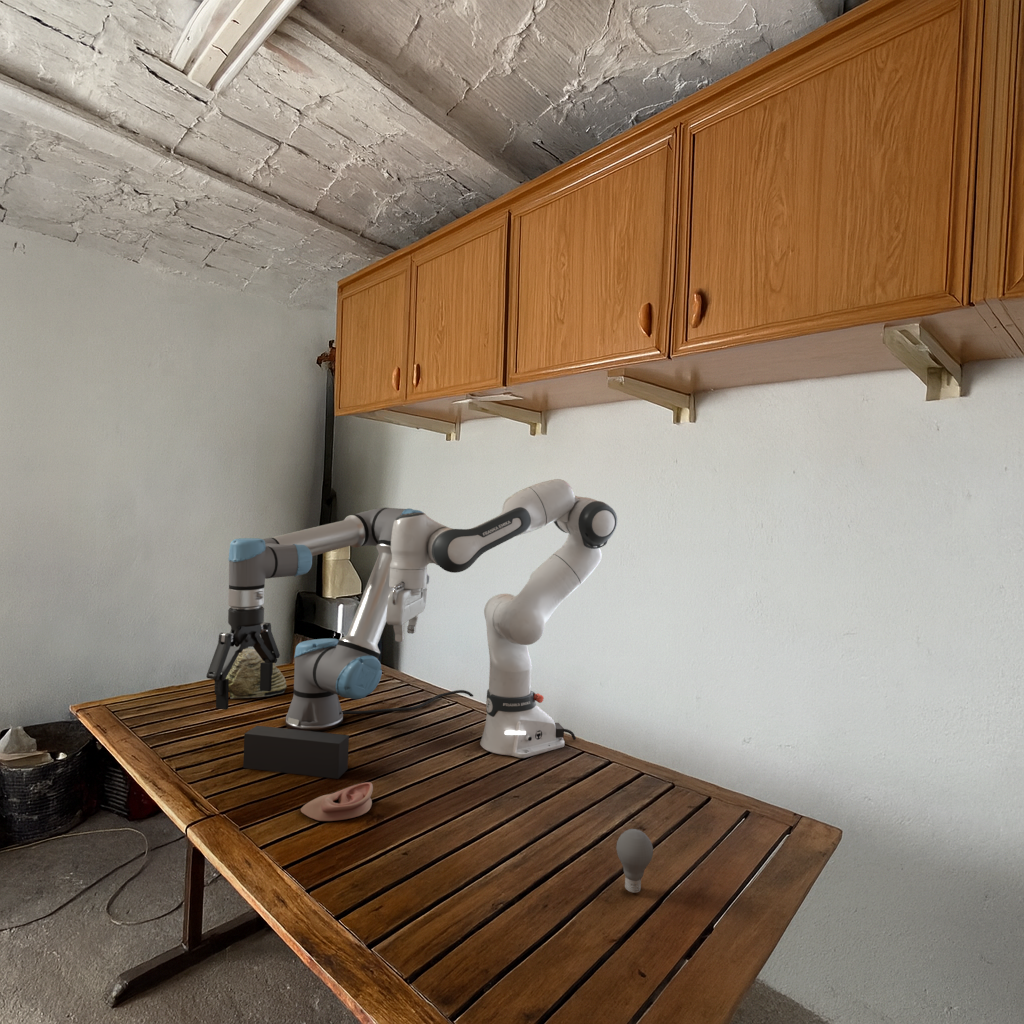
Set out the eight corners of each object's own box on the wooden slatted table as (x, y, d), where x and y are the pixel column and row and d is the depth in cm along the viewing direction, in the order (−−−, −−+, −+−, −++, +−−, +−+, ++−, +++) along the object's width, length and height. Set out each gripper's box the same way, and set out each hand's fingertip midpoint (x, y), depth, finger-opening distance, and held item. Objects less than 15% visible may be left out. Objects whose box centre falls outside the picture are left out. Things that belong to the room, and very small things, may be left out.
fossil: (218, 695, 195) (220, 647, 195) (278, 685, 208) (279, 640, 207) (228, 703, 189) (230, 653, 188) (289, 692, 201) (290, 645, 201)
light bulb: (610, 879, 108) (613, 822, 108) (644, 879, 109) (647, 822, 109) (619, 902, 102) (622, 840, 102) (655, 901, 103) (658, 840, 103)
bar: (243, 768, 146) (244, 733, 146) (255, 758, 151) (257, 725, 151) (338, 779, 142) (339, 743, 142) (347, 769, 148) (349, 735, 148)
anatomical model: (293, 796, 125) (321, 772, 136) (292, 816, 125) (321, 791, 136) (355, 806, 122) (379, 781, 133) (354, 826, 122) (379, 799, 133)
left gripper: (217, 618, 131) (215, 719, 131) (296, 599, 154) (294, 685, 155) (189, 614, 133) (187, 714, 134) (270, 596, 157) (269, 681, 157)
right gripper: (407, 586, 142) (405, 647, 142) (431, 575, 162) (429, 629, 162) (380, 584, 142) (378, 645, 143) (407, 574, 163) (405, 627, 163)
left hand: (244, 699), depth 144 cm, fingers open, 13 cm apart
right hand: (405, 636), depth 153 cm, fingers open, 8 cm apart
